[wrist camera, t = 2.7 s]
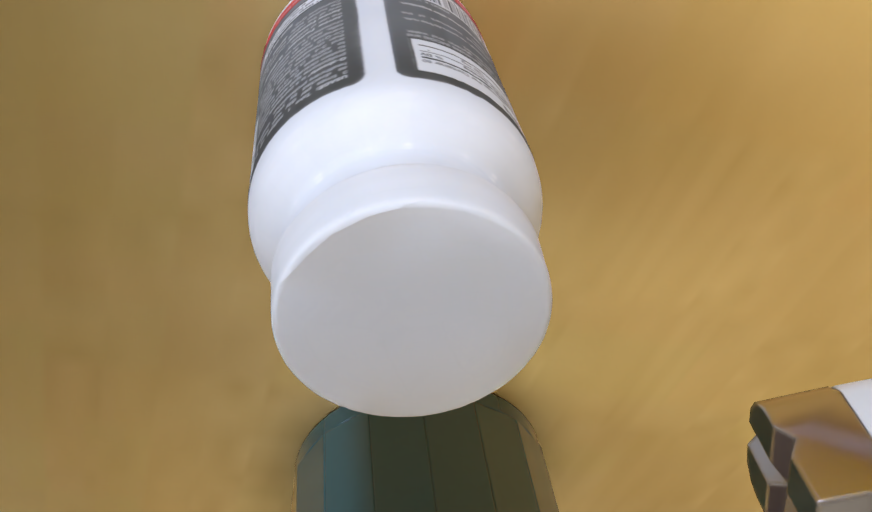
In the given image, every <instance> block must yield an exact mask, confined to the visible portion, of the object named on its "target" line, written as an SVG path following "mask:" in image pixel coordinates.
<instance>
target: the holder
mask: <svg viewBox="0 0 872 512" xmlns="http://www.w3.org/2000/svg"><path fill="white" fill-rule="evenodd" d="M291 512H559V510H558V507H557V503H556V499H555V496H554V492H553V489H552V485H551V481H550V478H549V474H548V470H547V467H546V463H545V460H544V456H543V452H542V449H541V447H540V445H539V444H538V440H537V436H536V434H535V432H534V430H533V428H532V426H531V424H530V423H529V421H528V420H527V419H526V417H525V416H524V415H523V414H522V413H521V412H520V411H519V410H518V409H516V408H515V407H514V406H513V405H511V404H510V403H508V402H507V401H505V400H504V399H502V398H500V397H498V396H496V395H494V394H492V393H490V394H489V395H487V396H485V397H483V398H481V399H479V400H477V401H475V402H472V403H470V404H468V405H466V406H463V407H460V408H457V409H453V410H450V411H446V412H442V413H437V414H432V415H426V416H416V417H389V416H378V415H371V414H366V413H362V412H357V411H353V410H350V409H348V408H345V407H339V408H338V409H336V410H335V411H333V412H332V413H330V414H329V415H328V416H327V417H325V418H324V419H323V420H322V421H320V423H319V424H318V425H317V426H316V427H315V428H314V429H313V430H312V431H311V432H310V434H309V435H308V436H307V438H306V439H305V441H304V442H303V444H302V446H301V448H300V450H299V452H298V455H297V459H296V462H295V470H294V488H293V494H292V507H291Z"/></svg>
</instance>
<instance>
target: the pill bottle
mask: <svg viewBox="0 0 872 512" xmlns="http://www.w3.org/2000/svg"><path fill="white" fill-rule="evenodd" d="M542 210H543V199H542V189H541V183H540V178H539V174H538V171H537V168H536V164H535V161H534V158H533V155H532V152H531V150H530V147H529V145H528V143H527V140H526V138H525V136H524V134H523V131H522V129H521V127H520V125H519V123H518V120H517V118H516V115H515V113H514V111H513V108H512V106H511V104H510V101H509V99H508V96H507V94H506V92H505V89H504V87H503V85H502V82H501V80H500V78H499V76H498V73H497V71H496V68H495V66H494V63H493V61H492V58H491V56H490V54H489V52H488V49H487V47H486V45H485V42H484V40H483V38H482V35H481V33H480V31H479V29H478V27H477V25H476V23H475V21H474V20H473V18H472V17H471V15H470V14H469V12H468V11H467V10H466V8H465V7H464V6H463V5H462V3H461V2H460V1H459V0H291V1H290V2H289V3H288V5H287V6H286V7H285V8H284V9H283V11H282V12H281V13H280V15H279V17H278V18H277V20H276V22H275V23H274V25H273V27H272V29H271V31H270V34H269V36H268V39H267V42H266V45H265V48H264V52H263V57H262V62H261V75H260V86H259V96H258V106H257V116H256V125H255V136H254V147H253V156H252V166H251V176H250V186H249V193H248V224H249V232H250V237H251V241H252V245H253V249H254V252H255V255H256V257H257V260H258V262H259V264H260V266H261V268H262V270H263V271H264V273H265V275H266V277H267V278H268V280H269V281H270V282H271V323H272V330H273V335H274V339H275V342H276V345H277V347H278V350H279V352H280V354H281V356H282V358H283V360H284V362H285V364H286V365H287V366H288V367H289V369H290V370H291V371H292V373H293V374H294V375H295V376H296V377H297V378H298V379H299V380H300V381H301V382H302V383H303V384H304V385H305V386H307V387H308V388H309V389H310V390H312V391H313V392H314V393H316V394H317V395H319V396H321V397H323V398H325V399H326V400H328V401H330V402H333V403H335V404H337V405H339V406H341V407H345V408H348V409H350V410H353V411H357V412H362V413H366V414H371V415H378V416H389V417H416V416H426V415H432V414H437V413H442V412H446V411H450V410H453V409H457V408H460V407H463V406H466V405H468V404H470V403H472V402H475V401H477V400H479V399H481V398H483V397H485V396H487V395H489V394H490V393H492V392H494V391H496V390H497V389H499V388H501V387H502V386H503V385H505V384H506V383H507V382H509V381H510V380H511V379H512V378H513V377H514V376H516V375H517V374H518V373H519V372H520V371H521V370H522V369H523V368H524V367H525V365H526V364H527V363H528V362H529V361H530V359H531V358H532V357H533V356H534V354H535V353H536V351H537V349H538V348H539V346H540V345H541V343H542V341H543V339H544V336H545V334H546V331H547V328H548V325H549V322H550V317H551V311H552V288H551V280H550V276H549V272H548V269H547V266H546V263H545V260H544V256H543V253H542V249H541V246H540V243H539V240H538V236H539V232H540V228H541V223H542Z"/></svg>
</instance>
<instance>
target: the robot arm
mask: <svg viewBox="0 0 872 512" xmlns="http://www.w3.org/2000/svg"><path fill="white" fill-rule="evenodd" d="M749 422H750V424H751V426H752V428H753V430H754V432H755V434H756V436H755V437H754V438H753V439H752V440H751V441H750V442H749V443H748V448H747V463H748V468H749V473H750V478H751V483H752V485H753V488H754V491H755V493H756V496H757V499H758V501H759V503H760V505H761V507H762V509H763V511H764V512H872V379H865V380H861V381H856V382H851V383H846V384H841V385H837V386H832V387H828V386H827V387H822V388H818V389H813V390H808V391H804V392H799V393H795V394H790V395H785V396H781V397H776V398H771V399H767V400H762V401H758V402H754V404H753V405H752V407H751V409H750V419H749Z"/></svg>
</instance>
